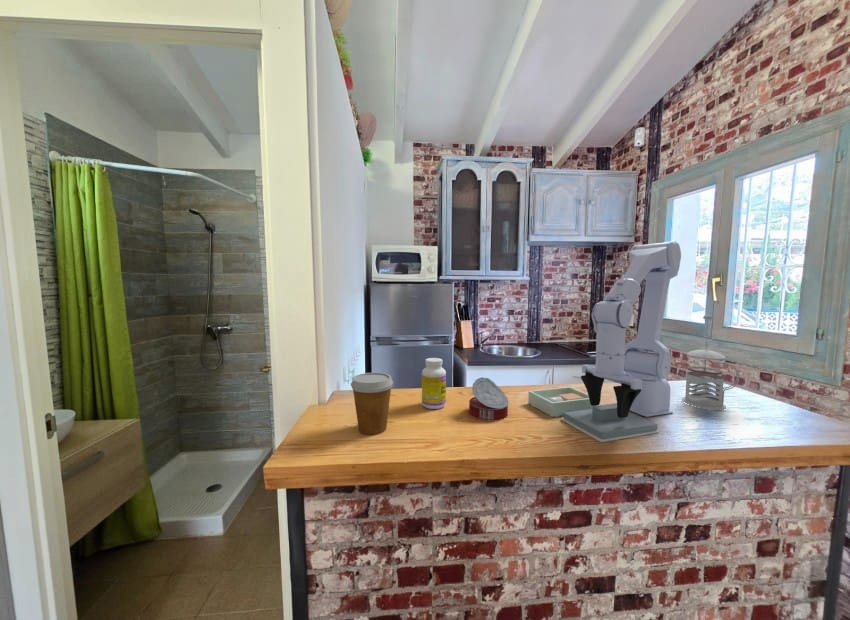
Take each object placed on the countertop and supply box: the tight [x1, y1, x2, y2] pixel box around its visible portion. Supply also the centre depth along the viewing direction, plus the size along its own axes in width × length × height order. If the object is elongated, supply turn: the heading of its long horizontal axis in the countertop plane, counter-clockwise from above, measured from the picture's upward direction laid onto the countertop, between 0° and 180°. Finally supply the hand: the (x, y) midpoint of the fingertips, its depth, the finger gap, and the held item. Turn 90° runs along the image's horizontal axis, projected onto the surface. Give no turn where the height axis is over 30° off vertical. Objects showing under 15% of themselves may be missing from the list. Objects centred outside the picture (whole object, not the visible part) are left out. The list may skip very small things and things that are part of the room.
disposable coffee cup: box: [350, 372, 394, 436], centre depth 71 cm, size 10×10×12 cm
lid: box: [563, 402, 658, 439], centre depth 73 cm, size 15×11×4 cm
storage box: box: [527, 386, 598, 418], centre depth 85 cm, size 14×10×4 cm
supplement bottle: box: [421, 357, 447, 410], centre depth 86 cm, size 7×7×13 cm
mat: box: [560, 417, 660, 443], centre depth 73 cm, size 16×12×1 cm
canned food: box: [468, 377, 509, 422], centre depth 81 cm, size 11×10×10 cm
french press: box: [681, 314, 740, 411], centre depth 86 cm, size 10×12×25 cm
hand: (608, 410), depth 73 cm, fingers open, 7 cm apart
